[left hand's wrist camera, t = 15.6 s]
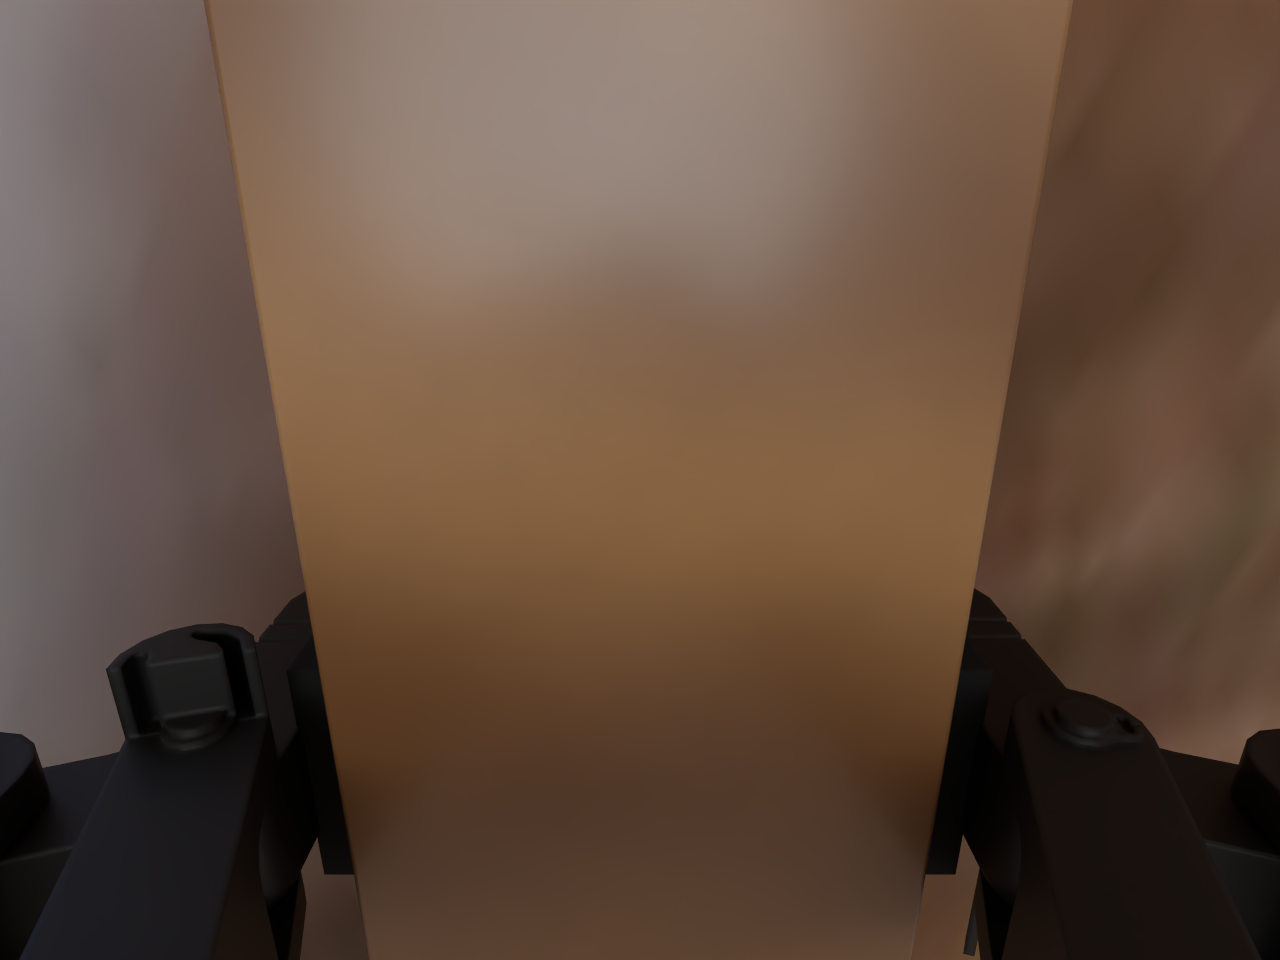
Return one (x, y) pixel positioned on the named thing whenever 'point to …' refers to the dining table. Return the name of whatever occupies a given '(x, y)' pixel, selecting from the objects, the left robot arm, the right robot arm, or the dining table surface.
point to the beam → (639, 442)
